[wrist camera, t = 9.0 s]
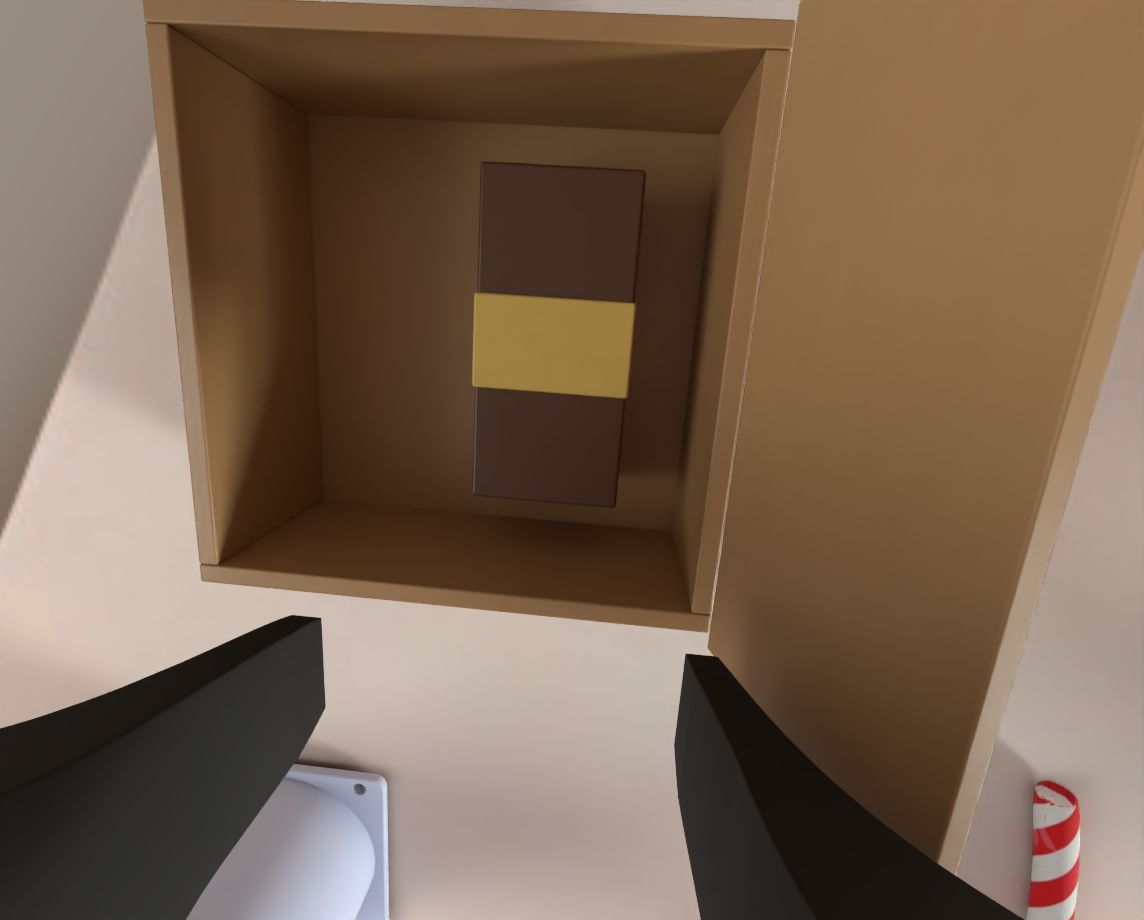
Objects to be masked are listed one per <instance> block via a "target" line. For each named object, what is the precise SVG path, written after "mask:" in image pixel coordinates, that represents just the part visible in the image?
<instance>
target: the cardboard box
mask: <svg viewBox="0 0 1144 920" xmlns="http://www.w3.org/2000/svg"><path fill="white" fill-rule="evenodd" d="M143 7H144V17H145V21H146V22H147V24H146V34H147V35H146V36H147V45H148V55H149V65H150V75H151V85H152V95H153V105H154V115H155V125H156V134H157V144H158V154H159V164H160V174H161V184H162V194H163V204H164V214H165V224H166V233H167V243H168V253H169V263H170V273H171V283H172V293H173V303H174V313H175V323H176V332H177V342H178V352H179V362H180V372H181V382H182V392H183V402H184V412H185V421H186V431H187V441H188V451H189V461H190V471H191V481H192V491H193V501H194V511H195V520H196V530H197V540H198V550H199V560H200V563H202V564H201V565H200V570H201V580H202V581H206V582H216V583H225V584H235V585H245V586H255V587H265V588H274V589H284V590H294V591H304V592H314V593H324V594H333V595H343V596H353V597H363V598H373V599H382V600H392V601H402V602H412V603H422V604H431V605H441V606H451V607H461V608H471V609H480V610H490V611H500V612H510V613H520V614H529V615H539V616H549V617H559V618H569V619H579V620H588V621H598V622H608V623H618V624H628V625H637V626H647V627H657V628H667V629H677V630H686V631H696V632H706V633H707V632H708V631H709V626H710V619H711V615H710V614H711V612H712V605H713V598H714V591H715V584H716V577H717V570H718V563H719V556H720V549H721V542H722V535H723V528H724V521H725V514H726V507H727V500H728V493H729V486H730V479H731V472H732V465H733V458H734V451H735V444H736V437H737V430H738V423H739V416H740V409H741V402H742V395H743V388H744V381H745V374H746V366H747V359H748V352H749V345H750V338H751V331H752V324H753V317H754V310H755V303H756V296H757V289H758V282H759V275H760V268H761V261H762V254H763V247H764V240H765V233H766V226H767V219H768V212H769V205H770V198H771V191H772V184H773V177H774V170H775V163H776V156H777V149H778V142H779V135H780V128H781V121H782V114H783V107H784V100H785V93H786V86H787V79H788V72H789V65H790V57H791V52H790V50H791V48H792V44H793V37H794V30H795V21H794V20H780V19H754V18H729V17H703V16H678V15H652V14H627V13H601V12H576V11H550V10H525V9H499V8H474V7H448V6H423V5H397V4H371V3H346V2H320V1H295V0H143ZM484 161H489V162H507V163H525V164H543V165H562V166H580V167H598V168H616V169H634V170H644V171H645V172H646V182H645V193H644V204H643V215H642V226H641V237H640V248H639V259H638V270H637V281H636V292H635V304H636V315H635V326H634V337H633V348H632V358H631V369H630V380H629V391H628V397H627V398H626V401H625V412H624V423H623V434H622V445H621V456H620V467H619V478H618V488H617V499H616V506H615V508H605V507H594V506H582V505H571V504H560V503H549V502H538V501H527V500H516V499H505V498H493V497H482V496H475V495H473V493H472V480H473V441H474V402H475V387H474V386H473V385H472V363H473V322H474V294H475V293H476V292H477V285H478V246H479V207H480V168H481V163H482V162H484Z"/></svg>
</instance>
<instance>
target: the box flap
mask: <svg viewBox="0 0 1144 920" xmlns="http://www.w3.org/2000/svg"><path fill="white" fill-rule="evenodd" d="M1143 244H1144V0H801V2H800V4H799V11H798V18H797V25H796V32H795V39H794V46H793V53H792V60H791V67H790V74H789V81H788V88H787V95H786V102H785V109H784V116H783V123H782V130H781V137H780V144H779V151H778V158H777V165H776V172H775V179H774V186H773V193H772V200H771V207H770V214H769V221H768V228H767V235H766V242H765V249H764V256H763V263H762V270H761V277H760V284H759V291H758V298H757V305H756V312H755V319H754V326H753V333H752V340H751V347H750V354H749V361H748V368H747V375H746V382H745V389H744V396H743V403H742V410H741V417H740V424H739V431H738V438H737V445H736V452H735V459H734V466H733V473H732V480H731V487H730V494H729V501H728V508H727V515H726V522H725V529H724V536H723V543H722V550H721V557H720V564H719V571H718V578H717V585H716V592H715V599H714V606H713V613H712V620H711V627H710V634H709V641H708V649H709V650H710V652H711V653H712V654H713V656H714V657H719V659H720V660H721V661H722V662H723V663H724V665H725V666H726V667H727V668H728V669H729V671H730V672H731V673H732V674H733V675H734V677H735V678H736V679H737V680H738V681H739V683H740V684H741V685H742V686H743V688H744V689H745V690H746V691H747V692H748V693H749V695H750V696H751V697H752V698H753V699H754V701H755V702H756V703H757V704H758V705H759V706H760V708H761V709H762V710H763V711H764V712H765V713H766V714H767V715H768V717H769V718H770V719H771V720H772V721H773V722H774V723H775V724H776V725H777V726H778V727H779V729H780V730H781V731H782V732H783V733H784V734H785V735H786V736H787V737H788V738H789V739H790V740H791V741H792V742H793V743H794V744H795V745H796V746H797V747H798V748H799V749H800V750H801V751H802V752H803V753H804V754H805V755H806V756H807V757H808V758H809V759H810V760H811V761H812V762H813V763H814V764H815V765H816V766H817V767H818V768H819V769H820V770H821V771H822V772H823V773H825V774H826V775H827V776H828V777H829V778H830V779H831V780H832V781H833V782H834V783H836V784H837V785H838V786H839V787H840V788H841V789H843V790H844V791H845V792H846V793H847V794H848V795H850V796H851V797H852V798H853V799H854V800H855V801H857V802H858V803H859V804H860V805H861V806H862V807H864V808H865V809H866V810H867V811H868V812H870V813H871V814H872V815H873V816H875V817H876V818H877V819H878V820H880V821H881V822H882V823H884V824H885V825H886V826H887V827H889V828H890V829H891V830H893V831H894V832H895V833H897V834H898V835H899V836H901V837H902V838H903V839H905V840H906V841H907V842H909V843H910V844H912V845H913V846H914V847H916V848H917V849H918V850H920V851H921V852H922V853H924V854H925V855H926V856H928V857H929V858H931V859H932V860H933V861H935V862H936V863H938V864H939V865H941V866H942V867H944V868H945V869H946V870H948V871H949V872H951V873H952V874H954V875H955V876H956V873H957V870H958V866H959V863H960V860H961V856H962V853H963V849H964V846H965V843H966V839H967V836H968V833H969V829H970V826H971V823H972V819H973V816H974V812H975V809H976V806H977V802H978V799H979V796H980V792H981V789H982V786H983V782H984V779H985V775H986V772H987V769H988V765H989V762H990V759H991V755H992V752H993V749H994V745H995V742H996V738H997V735H998V732H999V728H1000V725H1001V722H1002V718H1003V715H1004V712H1005V708H1006V705H1007V701H1008V698H1009V695H1010V691H1011V688H1012V685H1013V681H1014V678H1015V675H1016V671H1017V668H1018V664H1019V661H1020V658H1021V654H1022V651H1023V648H1024V644H1025V641H1026V638H1027V634H1028V631H1029V627H1030V624H1031V621H1032V617H1033V614H1034V611H1035V607H1036V604H1037V601H1038V597H1039V594H1040V590H1041V587H1042V584H1043V580H1044V577H1045V574H1046V570H1047V567H1048V564H1049V560H1050V557H1051V553H1052V550H1053V547H1054V543H1055V540H1056V537H1057V533H1058V530H1059V527H1060V523H1061V520H1062V516H1063V513H1064V510H1065V506H1066V503H1067V500H1068V496H1069V493H1070V490H1071V486H1072V483H1073V479H1074V476H1075V473H1076V469H1077V466H1078V463H1079V459H1080V456H1081V453H1082V449H1083V446H1084V442H1085V439H1086V436H1087V432H1088V429H1089V426H1090V422H1091V419H1092V416H1093V412H1094V409H1095V405H1096V402H1097V399H1098V395H1099V392H1100V389H1101V385H1102V382H1103V379H1104V375H1105V372H1106V368H1107V365H1108V362H1109V358H1110V355H1111V352H1112V348H1113V345H1114V342H1115V338H1116V335H1117V331H1118V328H1119V325H1120V321H1121V318H1122V315H1123V311H1124V308H1125V305H1126V301H1127V298H1128V294H1129V291H1130V288H1131V284H1132V281H1133V278H1134V274H1135V271H1136V268H1137V264H1138V261H1139V257H1140V254H1141V251H1142V247H1143Z"/></svg>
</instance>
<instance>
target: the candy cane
mask: <svg viewBox="0 0 1144 920" xmlns="http://www.w3.org/2000/svg"><path fill="white" fill-rule="evenodd" d="M1079 855H1080V813H1079V805H1078V799H1077V797H1076V795H1075V794H1074V792H1072V790H1071V789H1070V788H1068V787H1067V786H1065V785H1063V784H1061V783H1059V782H1055V781H1049V780H1047V781H1042V782H1039V783H1038V784H1037V785H1036V786H1035V790H1034V799H1033V858H1032V874H1031V885H1030V894H1029V902H1028V910H1027V916H1026V920H1074V913H1075V906H1076V897H1077V888H1078V875H1079Z"/></svg>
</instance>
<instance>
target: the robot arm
mask: <svg viewBox="0 0 1144 920" xmlns="http://www.w3.org/2000/svg"><path fill="white" fill-rule="evenodd" d="M324 709H325V688H324V668H323V647H322V626H321V618H315V617H305V616H295V615H291V616H288V617H285V618H282V619H279V620H277V621H274V622H272V623H269V624H267V625H264V626H262V627H260V628H257V629H255V630H253V631H251V632H248V633H246V634H244V635H242V636H240V637H237V638H235V639H233V640H231V641H229V642H226V643H224V644H222V645H220V646H217V647H215V648H213V649H211V650H209V651H206V652H204V653H202V654H200V655H197V656H195V657H193V658H191V659H189V660H186V661H184V662H182V663H179V664H177V665H175V666H172V667H170V668H167V669H165V670H163V671H160V672H158V673H155V674H153V675H151V676H148V677H146V678H143V679H141V680H139V681H136V682H134V683H131V684H129V685H127V686H124V687H122V688H119V689H117V690H114V691H112V692H109V693H106V694H104V695H101V696H98V697H96V698H93V699H90V700H87V701H85V702H82V703H79V704H76V705H73V706H70V707H67V708H64V709H61V710H59V711H56V712H53V713H50V714H47V715H44V716H41V717H38V718H35V719H32V720H28V721H25V722H22V723H18V724H15V725H11V726H8V727H4V728H1V729H0V920H389V875H388V807H387V783H386V780H385V779H384V778H383V777H382V776H381V775H378V774H374V773H366V772H358V771H349V770H341V769H333V768H324V767H316V766H308V765H300V764H294V763H295V761H296V760H297V758H298V757H299V756H300V754H301V752H302V750H303V748H304V747H305V745H306V743H307V741H308V740H309V738H310V736H311V734H312V732H313V730H314V728H315V727H316V725H317V723H318V721H319V719H320V717H321V715H322V713H323V711H324ZM674 747H675V762H676V776H677V789H678V799H679V805H680V811H681V816H682V822H683V827H684V832H685V838H686V843H687V848H688V854H689V859H690V864H691V869H692V875H693V880H694V885H695V891H696V896H697V901H698V906H699V912H700V917H701V920H1024V919H1022V918H1021V917H1019V916H1017V915H1016V914H1014V913H1013V912H1011V911H1009V910H1008V909H1006V908H1005V907H1003V906H1002V905H1000V904H998V903H997V902H995V901H994V900H992V899H991V898H989V897H987V896H986V895H984V894H983V893H981V892H980V891H978V890H977V889H975V888H973V887H972V886H970V885H969V884H967V883H966V882H964V881H963V880H961V879H960V878H958V877H957V876H955V875H954V874H952V873H951V872H949V871H948V870H946V869H945V868H944V867H942V866H941V865H939V864H938V863H936V862H935V861H933V860H932V859H931V858H929V857H928V856H926V855H925V854H924V853H922V852H921V851H920V850H918V849H917V848H916V847H914V846H913V845H912V844H910V843H909V842H907V841H906V840H905V839H903V838H902V837H901V836H899V835H898V834H897V833H895V832H894V831H893V830H891V829H890V828H889V827H887V826H886V825H885V824H884V823H882V822H881V821H880V820H878V819H877V818H876V817H875V816H873V815H872V814H871V813H870V812H868V811H867V810H866V809H865V808H864V807H862V806H861V805H860V804H859V803H858V802H857V801H855V800H854V799H853V798H852V797H851V796H850V795H848V794H847V793H846V792H845V791H844V790H843V789H841V788H840V787H839V786H838V785H837V784H836V783H834V782H833V781H832V780H831V779H830V778H829V777H828V776H827V775H826V774H825V773H823V772H822V771H821V770H820V769H819V768H818V767H817V766H816V765H815V764H814V763H813V762H812V761H811V760H810V759H809V758H808V757H807V756H806V755H805V754H804V753H803V752H802V751H801V750H800V749H799V748H798V747H797V746H796V745H795V744H794V743H793V742H792V741H791V740H790V739H789V738H788V737H787V736H786V735H785V734H784V733H783V732H782V731H781V730H780V729H779V727H778V726H777V725H776V724H775V723H774V722H773V721H772V720H771V719H770V718H769V717H768V715H767V714H766V713H765V712H764V711H763V710H762V709H761V708H760V706H759V705H758V704H757V703H756V702H755V701H754V699H753V698H752V697H751V696H750V695H749V693H748V692H747V691H746V690H745V689H744V688H743V686H742V685H741V684H740V683H739V681H738V680H737V679H736V678H735V677H734V675H733V674H732V673H731V672H730V671H729V669H728V668H727V667H726V666H725V665H724V663H723V662H722V661H721V660H720V659H719V657H714V656H704V655H694V654H686V656H685V664H684V672H683V680H682V688H681V696H680V704H679V712H678V720H677V728H676V736H675V744H674ZM359 784H361V785H363V786H364V787H362V786H360V785H359Z"/></svg>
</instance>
